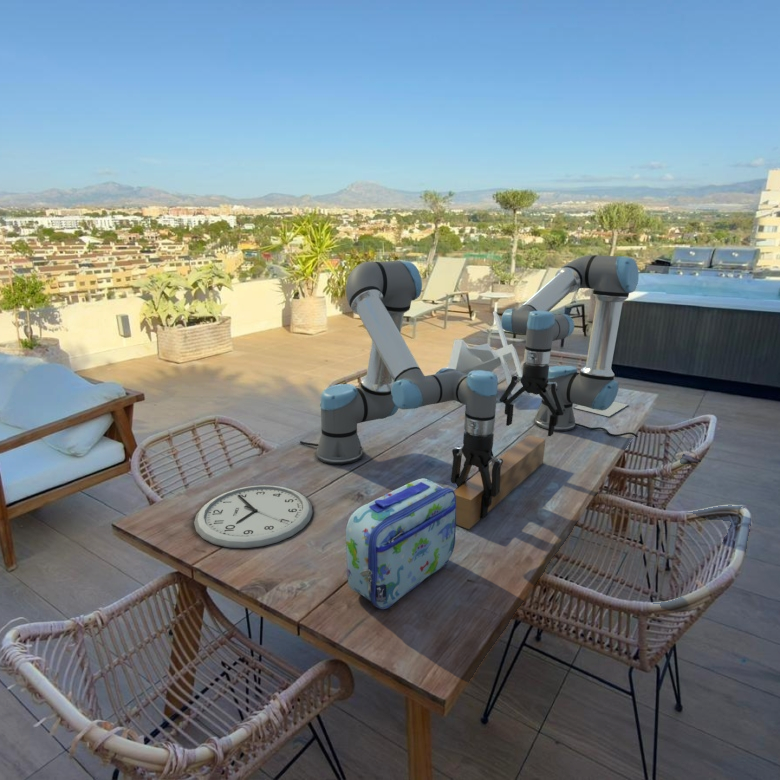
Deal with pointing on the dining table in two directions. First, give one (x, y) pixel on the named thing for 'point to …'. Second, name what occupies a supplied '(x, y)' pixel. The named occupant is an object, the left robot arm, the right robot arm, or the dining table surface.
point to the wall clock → (253, 516)
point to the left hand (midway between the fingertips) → (472, 512)
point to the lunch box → (400, 540)
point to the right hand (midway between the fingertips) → (529, 429)
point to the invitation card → (608, 412)
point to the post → (512, 473)
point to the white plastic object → (485, 356)
